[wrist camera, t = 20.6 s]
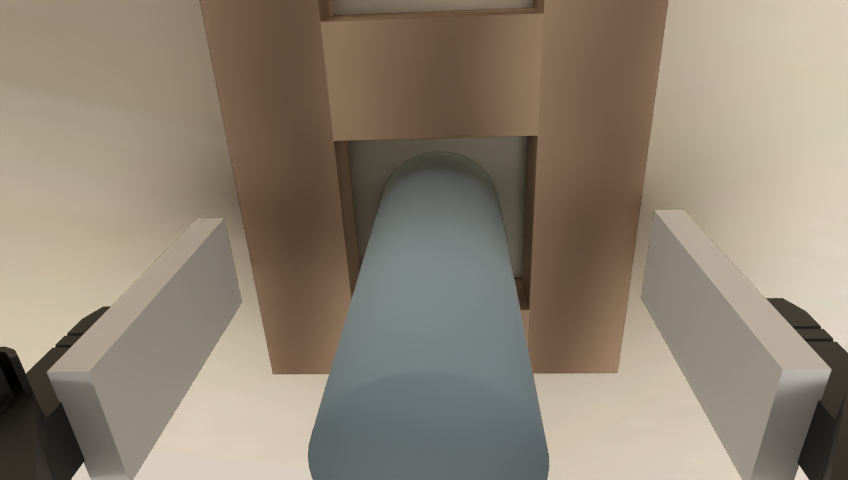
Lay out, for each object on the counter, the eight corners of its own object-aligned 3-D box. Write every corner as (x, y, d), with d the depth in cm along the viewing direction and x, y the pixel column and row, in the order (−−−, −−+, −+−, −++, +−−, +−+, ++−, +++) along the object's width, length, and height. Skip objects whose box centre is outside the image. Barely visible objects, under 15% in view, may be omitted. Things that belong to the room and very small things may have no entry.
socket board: (287, 340, 22) (272, 374, 20) (163, -366, 13) (118, -417, 12) (603, 338, 21) (617, 373, 20) (692, -408, 13) (732, -469, 11)
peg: (386, 262, 20) (324, 546, 11) (376, 154, 19) (290, 373, 9) (499, 259, 20) (544, 547, 10) (499, 149, 18) (554, 369, 9)
